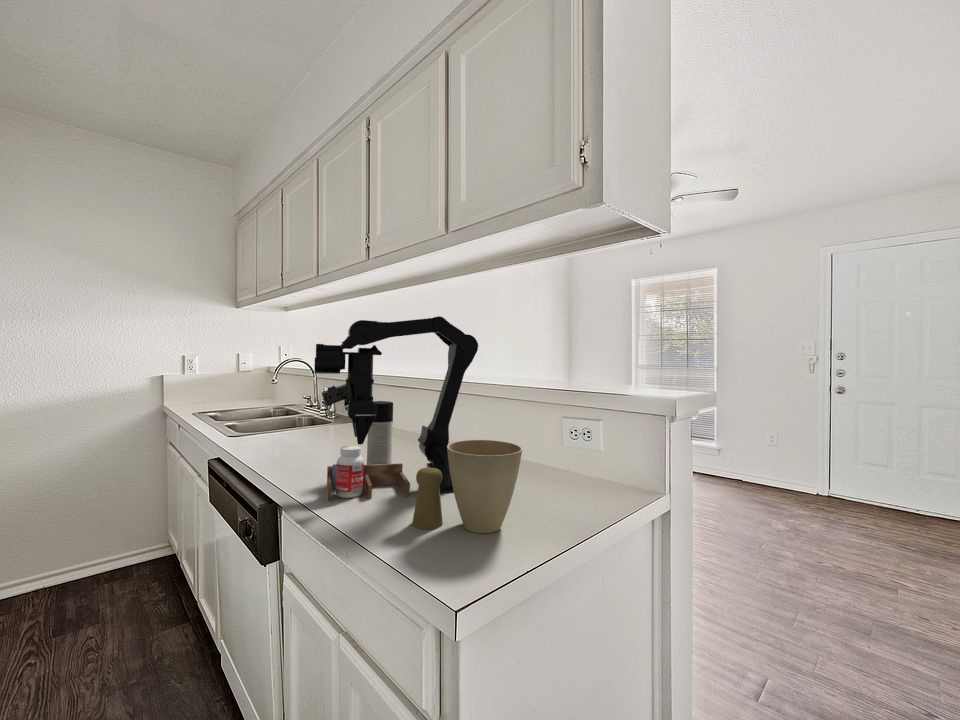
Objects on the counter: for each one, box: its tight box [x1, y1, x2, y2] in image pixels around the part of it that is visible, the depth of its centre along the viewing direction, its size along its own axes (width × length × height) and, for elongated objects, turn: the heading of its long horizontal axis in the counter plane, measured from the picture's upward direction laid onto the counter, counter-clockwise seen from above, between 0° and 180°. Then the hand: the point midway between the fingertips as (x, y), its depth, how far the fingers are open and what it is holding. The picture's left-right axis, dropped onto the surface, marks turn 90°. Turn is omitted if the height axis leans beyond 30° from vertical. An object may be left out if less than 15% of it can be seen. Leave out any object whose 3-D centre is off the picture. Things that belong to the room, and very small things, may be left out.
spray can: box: [366, 400, 394, 465], centre depth 126 cm, size 7×7×20 cm
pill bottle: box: [335, 445, 365, 499], centre depth 108 cm, size 6×6×11 cm
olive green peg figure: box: [411, 467, 443, 530], centre depth 92 cm, size 6×6×11 cm
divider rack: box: [326, 463, 411, 502], centre depth 111 cm, size 18×12×6 cm, turn 109°
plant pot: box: [447, 439, 523, 534], centre depth 91 cm, size 15×15×16 cm
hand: (358, 440), depth 108 cm, fingers open, 9 cm apart
